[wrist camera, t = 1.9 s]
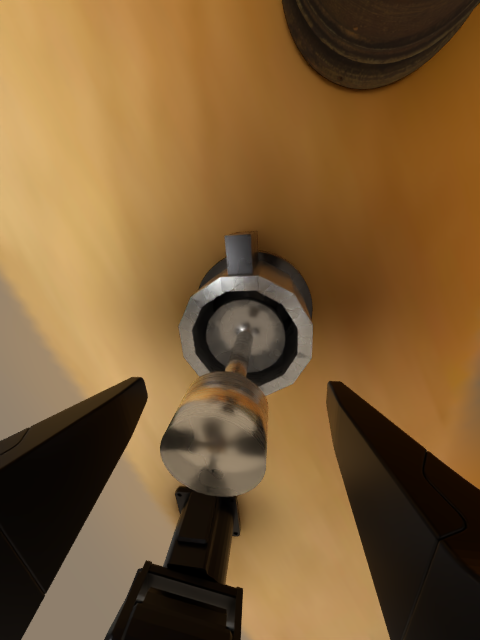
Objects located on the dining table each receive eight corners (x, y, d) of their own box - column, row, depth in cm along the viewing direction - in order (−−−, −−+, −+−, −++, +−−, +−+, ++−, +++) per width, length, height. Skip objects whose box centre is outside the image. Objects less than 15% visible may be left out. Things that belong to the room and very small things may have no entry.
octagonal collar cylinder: (309, 357, 18) (321, 407, 13) (206, 356, 20) (182, 402, 15) (313, 226, 15) (331, 228, 10) (189, 235, 16) (151, 241, 11)
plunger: (285, 367, 14) (293, 520, 7) (213, 366, 15) (152, 505, 7) (284, 296, 12) (295, 396, 5) (204, 298, 13) (117, 391, 6)
